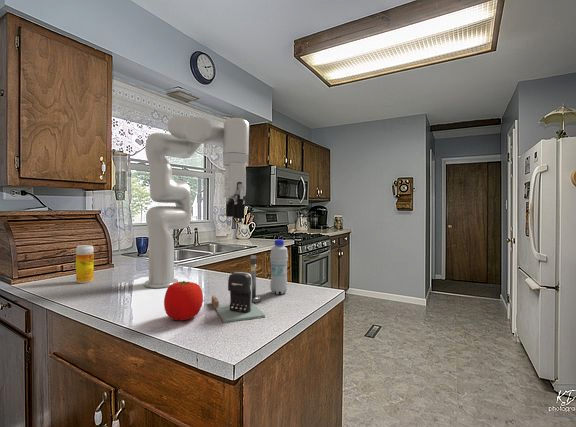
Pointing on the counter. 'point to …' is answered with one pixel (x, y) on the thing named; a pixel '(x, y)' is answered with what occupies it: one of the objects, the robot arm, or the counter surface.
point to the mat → (239, 314)
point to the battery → (240, 291)
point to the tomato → (183, 300)
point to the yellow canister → (84, 263)
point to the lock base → (256, 299)
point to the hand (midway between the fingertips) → (234, 217)
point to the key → (253, 275)
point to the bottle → (279, 267)
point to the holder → (215, 302)
